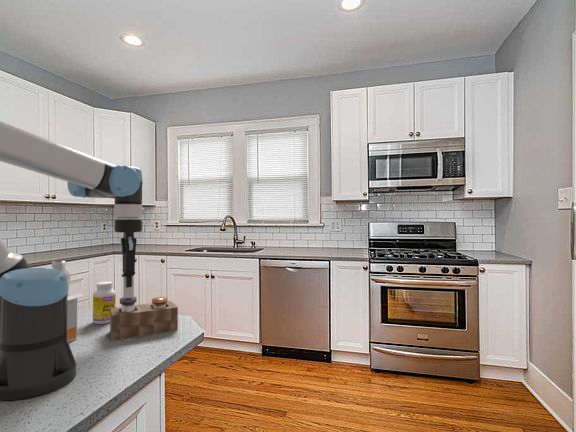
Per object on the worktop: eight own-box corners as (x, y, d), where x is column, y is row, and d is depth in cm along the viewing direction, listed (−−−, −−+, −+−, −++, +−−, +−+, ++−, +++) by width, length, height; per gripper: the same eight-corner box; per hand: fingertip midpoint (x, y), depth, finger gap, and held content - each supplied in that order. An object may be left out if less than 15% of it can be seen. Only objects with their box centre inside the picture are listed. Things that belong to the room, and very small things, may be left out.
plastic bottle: (41, 323, 112) (42, 261, 112) (63, 317, 118) (63, 259, 118) (53, 326, 109) (53, 263, 109) (74, 320, 115) (74, 260, 115)
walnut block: (171, 321, 114) (171, 300, 114) (177, 329, 106) (177, 307, 106) (110, 331, 105) (110, 308, 105) (112, 340, 97) (112, 315, 97)
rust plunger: (168, 327, 107) (168, 299, 107) (153, 329, 105) (153, 301, 105) (165, 323, 111) (165, 296, 111) (150, 325, 109) (150, 298, 109)
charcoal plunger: (137, 328, 102) (137, 298, 102) (120, 330, 100) (120, 300, 100) (135, 323, 106) (135, 295, 106) (118, 326, 104) (119, 297, 104)
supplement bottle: (101, 325, 110) (101, 285, 110) (88, 322, 113) (88, 283, 113) (120, 320, 116) (120, 281, 116) (106, 317, 119) (106, 280, 119)
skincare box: (59, 347, 92) (59, 302, 92) (46, 345, 93) (46, 301, 93) (77, 339, 98) (78, 297, 98) (65, 337, 99) (65, 296, 99)
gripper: (145, 219, 99) (145, 300, 100) (139, 218, 111) (138, 291, 111) (116, 219, 96) (116, 304, 96) (112, 218, 107) (112, 294, 107)
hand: (128, 297), depth 103 cm, fingers closed
